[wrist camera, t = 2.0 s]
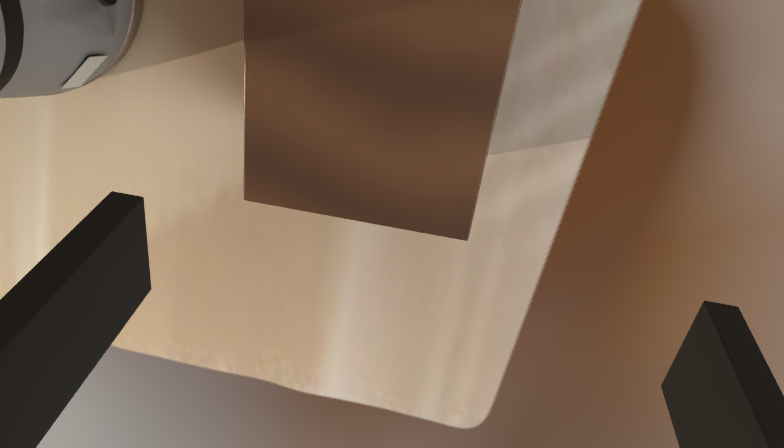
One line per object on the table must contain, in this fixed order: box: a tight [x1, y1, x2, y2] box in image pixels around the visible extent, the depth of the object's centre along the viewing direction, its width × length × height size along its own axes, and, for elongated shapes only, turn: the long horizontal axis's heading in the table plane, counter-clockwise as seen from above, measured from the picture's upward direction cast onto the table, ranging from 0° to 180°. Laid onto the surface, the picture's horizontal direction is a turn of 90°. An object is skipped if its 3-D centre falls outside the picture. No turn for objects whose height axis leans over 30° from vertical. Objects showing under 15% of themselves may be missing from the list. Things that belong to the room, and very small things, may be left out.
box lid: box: [244, 0, 522, 241], centre depth 27 cm, size 16×12×6 cm
